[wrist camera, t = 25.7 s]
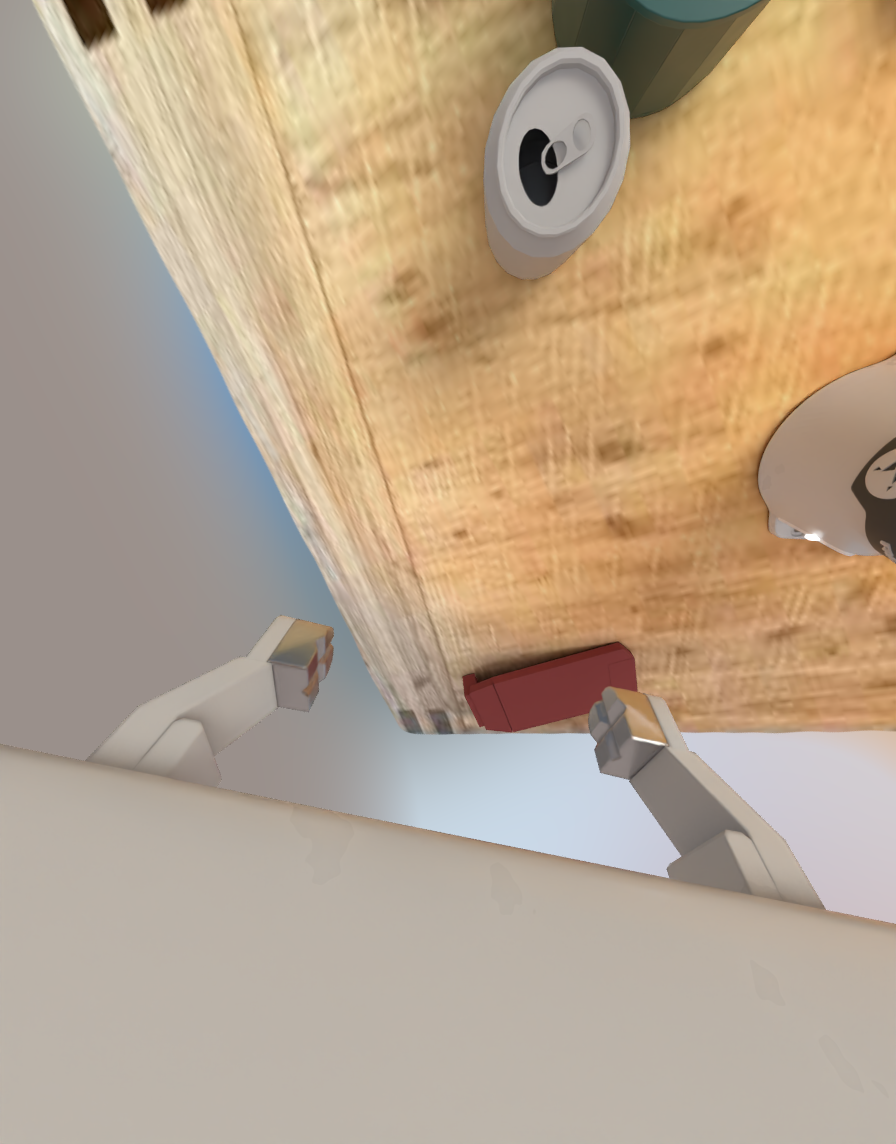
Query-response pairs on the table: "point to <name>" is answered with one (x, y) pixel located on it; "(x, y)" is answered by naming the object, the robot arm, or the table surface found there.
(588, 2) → the pot
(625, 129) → the can
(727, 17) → the pot lid
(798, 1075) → the robot arm
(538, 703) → the dark red sloped ramp
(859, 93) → the table surface
